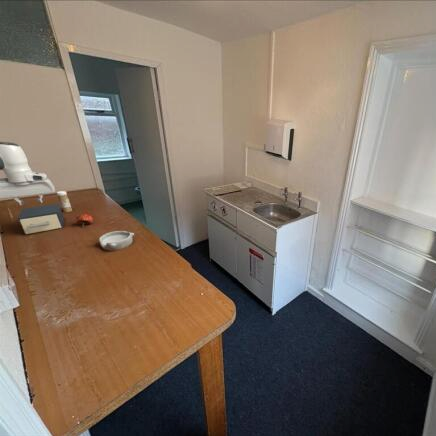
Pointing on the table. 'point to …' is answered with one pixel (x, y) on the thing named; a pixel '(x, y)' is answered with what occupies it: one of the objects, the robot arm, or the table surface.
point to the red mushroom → (84, 219)
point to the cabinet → (42, 212)
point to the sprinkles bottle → (64, 201)
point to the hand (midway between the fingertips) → (31, 203)
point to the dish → (116, 240)
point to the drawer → (40, 223)
